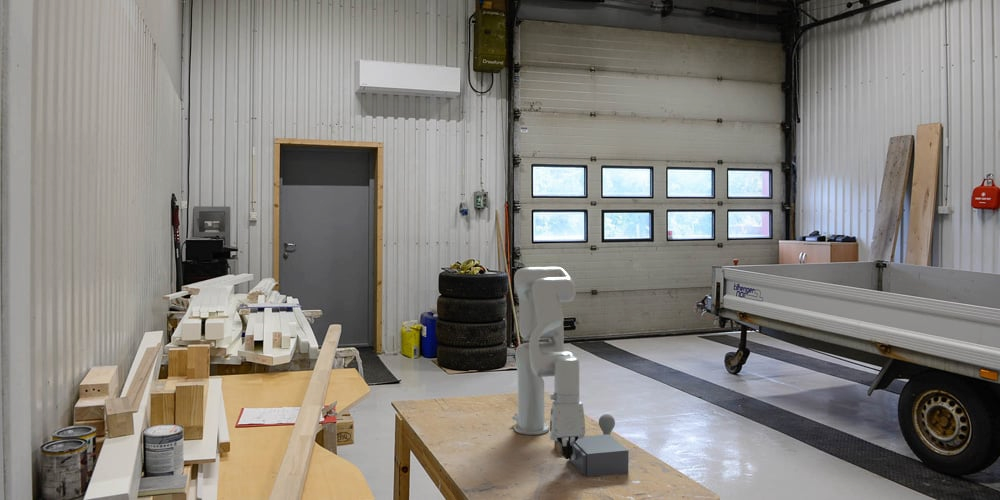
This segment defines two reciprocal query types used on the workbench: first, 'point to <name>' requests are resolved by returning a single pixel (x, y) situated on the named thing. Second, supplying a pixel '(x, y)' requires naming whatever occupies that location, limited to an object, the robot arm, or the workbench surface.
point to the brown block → (558, 445)
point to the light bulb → (606, 423)
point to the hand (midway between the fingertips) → (567, 457)
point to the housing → (603, 455)
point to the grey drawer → (578, 459)
